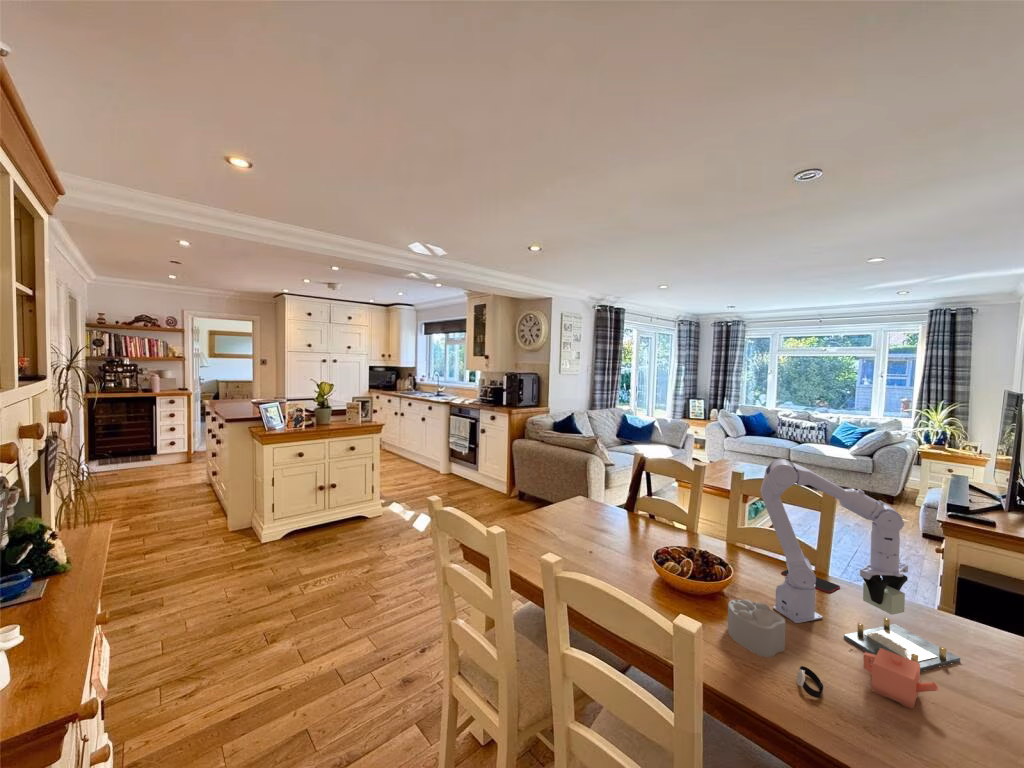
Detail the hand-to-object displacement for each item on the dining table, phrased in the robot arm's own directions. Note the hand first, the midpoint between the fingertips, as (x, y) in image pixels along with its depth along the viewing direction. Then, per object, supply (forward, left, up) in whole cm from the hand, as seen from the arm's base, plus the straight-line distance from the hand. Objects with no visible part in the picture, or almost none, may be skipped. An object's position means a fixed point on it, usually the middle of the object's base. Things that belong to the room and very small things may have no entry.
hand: (883, 600), depth 114 cm
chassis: (-4, -6, -8) cm, 11 cm away
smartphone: (+6, +27, -9) cm, 29 cm away
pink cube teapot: (-21, -17, -9) cm, 29 cm away
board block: (0, 0, -1) cm, 1 cm away
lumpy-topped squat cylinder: (-36, +7, -9) cm, 37 cm away
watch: (-37, -10, -9) cm, 39 cm away
